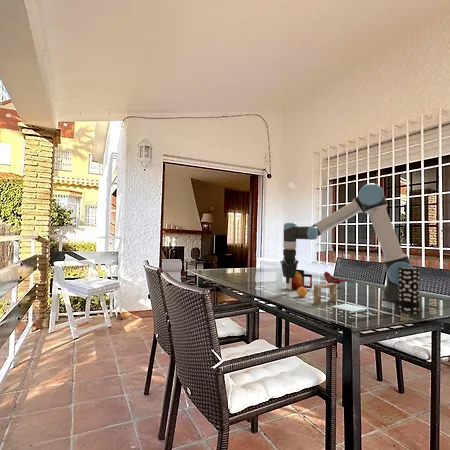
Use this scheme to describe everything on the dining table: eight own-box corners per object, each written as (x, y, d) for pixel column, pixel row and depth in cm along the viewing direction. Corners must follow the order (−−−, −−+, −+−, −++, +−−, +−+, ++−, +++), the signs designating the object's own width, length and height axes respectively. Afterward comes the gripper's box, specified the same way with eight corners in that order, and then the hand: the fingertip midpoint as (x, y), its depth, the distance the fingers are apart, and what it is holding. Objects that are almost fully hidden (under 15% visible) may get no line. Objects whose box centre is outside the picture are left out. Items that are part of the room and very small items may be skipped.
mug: (312, 290, 193) (312, 271, 193) (290, 290, 193) (290, 271, 193) (308, 287, 203) (308, 269, 203) (287, 287, 203) (287, 269, 203)
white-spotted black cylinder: (394, 309, 145) (394, 267, 145) (410, 309, 145) (410, 267, 146) (406, 313, 136) (406, 269, 137) (423, 313, 137) (423, 269, 138)
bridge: (336, 301, 160) (336, 283, 160) (318, 304, 152) (318, 285, 153) (331, 300, 163) (331, 283, 163) (313, 303, 155) (313, 284, 155)
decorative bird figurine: (324, 285, 214) (324, 271, 215) (348, 289, 201) (348, 273, 201) (321, 285, 212) (322, 271, 213) (346, 289, 199) (346, 274, 200)
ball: (309, 297, 170) (309, 287, 170) (302, 298, 167) (302, 288, 167) (301, 295, 175) (301, 285, 175) (294, 296, 172) (294, 286, 172)
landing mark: (368, 309, 144) (368, 308, 144) (352, 312, 137) (352, 311, 137) (345, 304, 154) (345, 303, 154) (330, 306, 147) (330, 306, 147)
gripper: (292, 248, 187) (292, 287, 186) (277, 248, 180) (276, 288, 179) (302, 249, 181) (301, 289, 180) (286, 249, 174) (285, 290, 173)
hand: (288, 288), depth 179 cm, fingers closed
